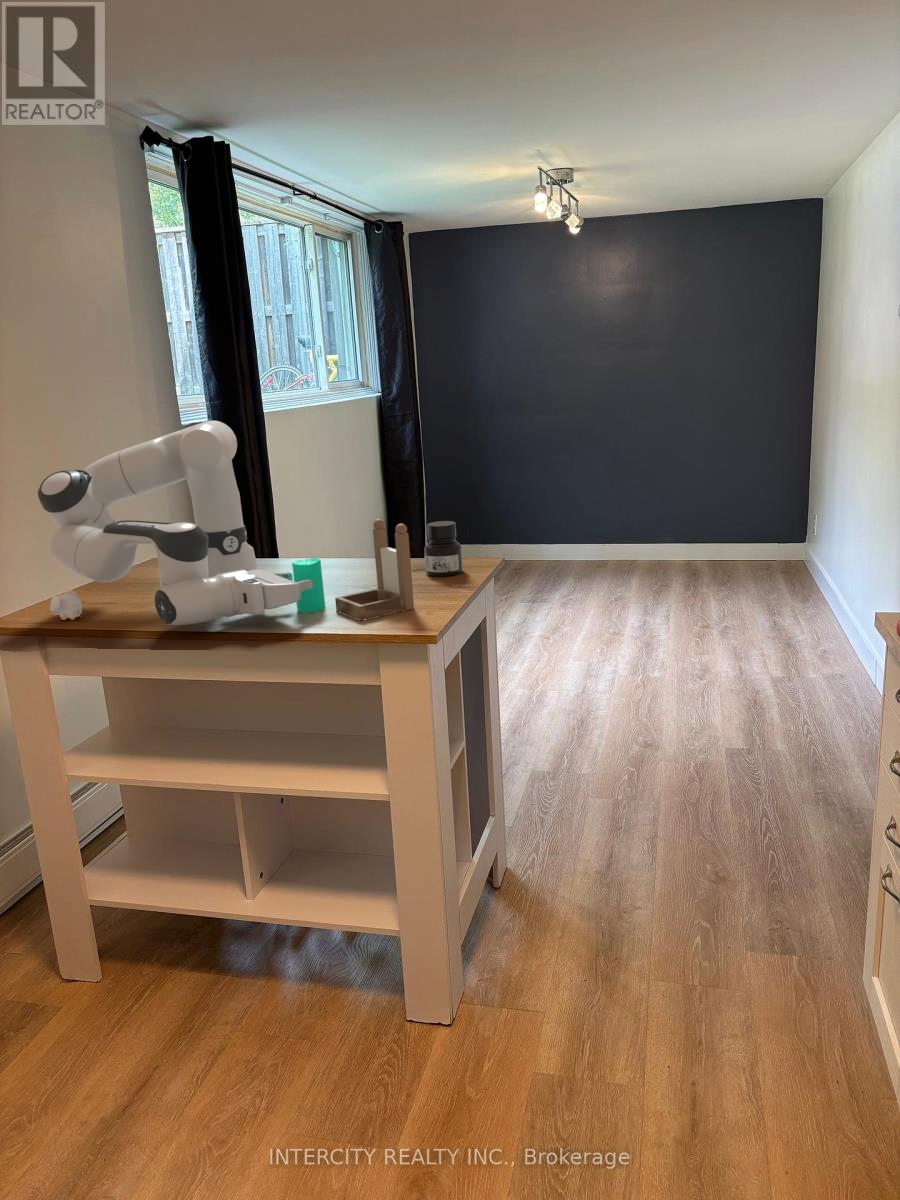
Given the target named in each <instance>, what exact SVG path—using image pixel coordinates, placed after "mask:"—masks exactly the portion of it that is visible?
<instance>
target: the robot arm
mask: <svg viewBox="0 0 900 1200" xmlns="http://www.w3.org/2000/svg"><path fill="white" fill-rule="evenodd" d="M237 448H238V441H237V436H236V434H235V433H234V431H233V430H232V428H231V427H230V426H228V425H227V424H226V423H223V422H222V421H219V420H207V421H206V420H205V421H204V422H200V423H198V424H194V425H192V426H188V427H186V428H183V429H180V430H177V431H174V432H171V433H168V434H166V435H162V436H158V437H157V438H153V439H151V440H150V439H149V440H148V441H147V440H146V441H144V442H142V443H138V444H136V445H133V446H129V447H127V448H123V449H121V450H118V451H116V452H113V453H111V454H108V455H106V456H104V457H102V458H100V459H98V460H96V461H94V462H92V463H90V464H88V466H86V467H85V468H84V470H82V469H67V470H60V471H56V472H53V473H51V474H49V475H48V476H46V477H45V479H43V481H42V482H41V483H40V486H39V487H38V489H37V497H38V500H39V502H40V504H41V506H42V508H43V510H45V511H46V512H47V514H48V516H49V517H50V518H51V520H52V521H53V524H55V526H56V527H57V528H58V529H57V530H56V531H55V533H53V535H52V537H51V539H50V540H51V541H50V544H49V545H50V552H51V556H52V557H53V558H54V560H55V561H56V562H57V563H58V564H60V565H61V566H63V567H64V568H66V569H67V570H69V571H71V572H73V573H75V574H77V575H79V576H82V577H85V578H86V579H90V580H92V581H95V582H100V583H112V582H116V581H117V580H120V579H121V578H123V577H124V576H125V575H126V574H128V573H129V571H130V570H131V568H132V567H133V565H134V563H135V561H136V557H137V556H136V555H137V550H138V546H139V545H150V546H153V547H154V548H155V551H156V553H157V558H158V571H159V573H158V574H159V585H160V586H159V589H158V590H156V592H155V595H154V607H155V610H156V612H157V615H158V617H159V618H160V620H161V621H162V622H163V623H165V624H166V625H168V626H186V625H187V626H188V625H196V624H200V623H206V622H210V621H212V620H214V619H216V618H219V617H220V618H222V617H224V618H225V617H229V618H230V617H234V616H237V615H238V616H239V615H240V616H241V615H246V614H247V615H263V614H265V612H266V610H272V609H277V608H281V607H285V606H288V605H291V604H294V603H295V604H296V603H297V601H299V600H300V599H301V592H302V591H304V590H306V589H311V588H312V587H313V584H312V580H309V579H305V580H301V581H300V582H294V576H293V574H292V573H293V572H292V573H291V572H289V571H286V572H269V571H266V570H264V569H258V565H257V559H256V555H255V550H254V547H253V546H251V545H250V544H249V543H248V542H247V540H248V535H247V534H248V533H247V529H246V525H245V524H244V518H243V510H242V503H241V495H240V491H239V488H238V485H237V479H236V475H235V471H234V466H233V461H232V460H233V459H234V457H235V455H236V453H237ZM185 480H186V483H187V486H188V489H189V494H190V497H191V503H192V509H193V510H192V511H193V517H194V518H193V520H194V522H187V521H186V522H185V521H183V522H181V521H180V522H160V521H146V520H132V519H131V520H129V519H127V520H125V519H124V520H117V521H116V519H114V518H113V516H112V515H111V513H110V511H109V510H108V508H107V507H109V506H110V505H111V504H113V503H115V502H121V501H125V500H129V499H132V498H135V497H139V496H143V495H145V494H148V493H150V492H153V491H158V490H160V489H164V488H166V487H169V486H172V485H174V484H177V483H179V482H183V481H185Z"/></svg>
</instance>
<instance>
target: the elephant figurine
mask: <svg viewBox="0 0 900 1200" xmlns="http://www.w3.org/2000/svg"><path fill="white" fill-rule="evenodd" d="M48 612H51V613H52V614H53V615H55V616H56V615H58V616H59V618H60V617H66V616H68V617H75V616H76V615H77V614H78V615H79V614H81V615H82V612H83V602H82V601H81V599H80V598H79V597H78V594H77V593H76V592H75V591H74V590H70V589H68V590H66V591H65V592H64V593H63V594H59V595H54V596H53V597H52V598H51V601H50V609H49V611H48Z"/></svg>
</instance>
